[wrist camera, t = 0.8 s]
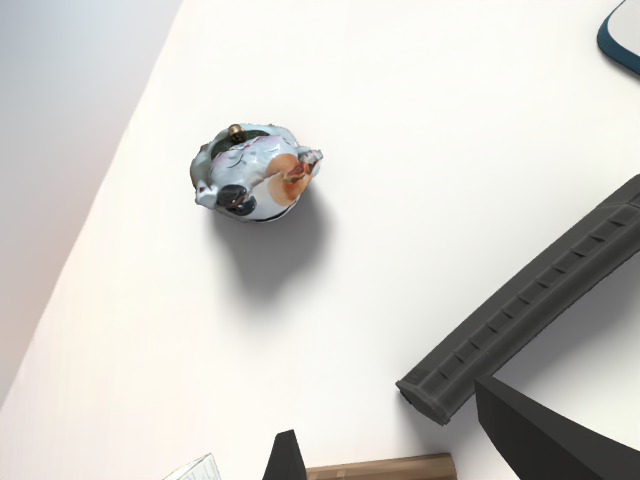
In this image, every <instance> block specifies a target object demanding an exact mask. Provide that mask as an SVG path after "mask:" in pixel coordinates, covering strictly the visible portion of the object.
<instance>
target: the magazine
mask: <svg viewBox="0 0 640 480" xmlns="http://www.w3.org/2000/svg"><path fill="white" fill-rule="evenodd" d="M638 251H640V174H638V175H636V176H635V177H633V178H632V179H630V180H629V181H628V182H626V183H625V184H624V185H623V186H621V187H620V188H619V189H618V190H616V191H615V192H614V193H613V194H611V195H610V196H609V197H608V198H606V199H605V200H604V201H603V202H601V203H600V204H599V205H598V206H596V208H595V209H594V210H592V211H591V212H590V213H589V214H587V215H586V216H585V217H584V218H583V219H581V220H580V221H579V222H578V223H576V224H575V225H574V226H573V227H572V228H570V229H569V230H568V231H567V232H566V233H564V234H563V235H562V236H561V237H560V238H558V239H557V240H556V241H555V242H554V243H552V244H551V245H550V246H549V247H548V248H546V249H545V250H544V251H543V252H542V253H540V254H539V255H538V256H537V257H536V258H534V259H533V260H532V261H531V262H530V263H529V264H527V265H526V266H525V267H524V268H523V269H522V270H520V271H519V272H518V273H517V274H516V275H515V276H514V277H512V278H511V279H510V280H509V281H508V282H507V283H506V284H504V285H503V286H502V287H501V288H500V289H499V290H498V291H496V292H495V293H494V294H493V295H492V296H491V297H490V298H489V299H488V300H486V301H485V302H484V303H483V304H482V305H481V306H480V307H479V308H477V309H476V310H475V311H474V312H473V313H472V314H471V315H470V316H469V317H468V318H467V319H465V320H464V321H463V322H462V323H461V324H460V325H459V326H458V327H457V328H456V329H455V330H453V331H452V332H451V333H450V334H449V335H448V336H447V337H446V338H445V339H444V340H443V341H442V342H441V343H440V344H439V345H437V346H436V347H435V348H434V349H433V350H432V351H431V352H430V353H429V354H428V355H427V356H426V357H425V358H424V359H423V360H422V361H420V362H419V363H418V364H417V365H416V366H415V367H414V368H413V369H412V370H411V371H410V372H409V373H408V374H407V375H406V376H405V377H403V378H402V379H401V380H400V381H397V382H396V383H395V385H396V386H397V387H398V388H399V389H400V393H401V394H402V395H403V396H404V397H405V399H406V400H407V401H408V402H409V403H410V404H411V405H413V406H414V407H415V408H416V409H417V410H418V411H419V412H420V413H422V414H423V415H425V416H427V417H428V418H430V419H431V420H433V421H435V422H436V423H438V424H439V425H441V426H443V425H444V424H445V425H446V424H447V423H448V422H449V421H450V418H451V417H452V416H453V415H454V414H455V413H456V412H457V411H458V409H459V408H460V407H461V406H462V405H463V404H464V403H465V402H466V401H467V400H468V399H469V398H470V397H471V396H472V395H473V394H474V393H475V386H474V378H477V377H481V376H484V375H488V374H489V375H490V376H492V375H493V374H494V373H495V372H497V371H498V370H499V369H500V368H501V367H502V366H503V365H504V364H505V363H506V362H508V361H509V360H510V359H511V358H512V357H513V356H514V355H515V354H517V353H518V352H519V351H520V350H521V349H522V348H523V347H524V346H526V345H527V344H528V343H529V342H530V341H531V340H532V339H533V338H535V337H536V336H537V335H538V334H539V333H540V332H541V331H542V330H543V329H544V328H546V327H547V326H548V325H549V324H550V323H552V322H553V321H554V320H555V319H556V318H557V317H558V316H559V315H560V314H562V313H563V312H564V311H565V310H566V309H567V308H569V307H570V306H571V305H573V304H574V303H575V302H576V301H577V300H578V299H579V298H581V297H582V296H583V295H584V294H586V293H587V292H588V291H590V290H591V289H592V288H593V287H594V286H595V285H597V284H598V283H599V282H600V281H601V280H603V279H604V278H605V277H607V276H608V275H609V274H611V273H612V272H613V271H614V270H615V269H616V268H618V267H619V266H620V265H621V264H623V263H624V262H625V261H627V260H629V259H630V258H631V257H632V256H633V255H634V254H636V253H637V252H638Z"/></svg>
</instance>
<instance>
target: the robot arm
mask: <svg viewBox="0 0 640 480" xmlns="http://www.w3.org/2000/svg"><path fill="white" fill-rule="evenodd" d="M474 386H475V394H476V402H477V410H478V418H479V422H480V424H481V425H482V427H483V429H484V430H485V432H486V433H487V435H488V437H489V438H490V440H491V441H492V443H493V444H494V446H495V447H496V449H497V450H498V452H499V453H500V454H501V456H502V457H503V458H504V459H505V461H506V462H507V463H508V465H509V466H510V467H511V468H512V470H513V471H514V472H515V473H516V475H517V476H518V477H519V479H520V480H640V451H638V450H635V449H633V448H630V447H628V446H626V445H623V444H621V443H619V442H617V441H614V440H612V439H610V438H607V437H605V436H603V435H601V434H598V433H596V432H594V431H592V430H590V429H588V428H586V427H584V426H582V425H580V424H578V423H576V422H574V421H572V420H570V419H568V418H566V417H564V416H562V415H560V414H558V413H556V412H554V411H552V410H550V409H549V408H547V407H545V406H543V405H541V404H539V403H538V402H536V401H534V400H532V399H530V398H529V397H527V396H525V395H523V394H522V393H520V392H518V391H516V390H515V389H513V388H511V387H509V386H508V385H506V384H504V383H503V382H501V381H499V380H497V379H496V378H494V377H492V376H490V375H489V374H488V375H484V376H481V377H477V378H474ZM262 480H307V474H306V469H305V466H304V462H303V459H302V456H301V453H300V449H299V446H298V443H297V439H296V436H295V433H294V430H293V429H292V430H289V431H285V432H282V433H278V434H277V435H276V437H275V441H274V444H273V448H272V451H271V455H270V458H269V461H268V464H267V467H266V470H265V473H264V476H263V479H262Z"/></svg>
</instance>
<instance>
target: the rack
mask: <svg viewBox="0 0 640 480" xmlns="http://www.w3.org/2000/svg"><path fill="white" fill-rule="evenodd" d="M306 474H307V480H458V479H457V476H456V475H457V473H456V469H455V466H454V463H453V460H452V457H451V454H450V453H442V454H433V455H424V456H415V457H406V458H397V459H388V460H378V461H369V462H360V463H351V464H342V465H333V466H324V467H315V468H306Z"/></svg>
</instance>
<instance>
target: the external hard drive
mask: <svg viewBox="0 0 640 480" xmlns="http://www.w3.org/2000/svg"><path fill="white" fill-rule="evenodd" d="M597 39H598V43H599V46H600V47H601V49H602V50H603V51H604V52H605V53H606V54H607V55H608V56H609V57H611V58H612V59H614V60H616V61H617V62H619V63H620V64H622V65H624V66H626V67H627V68H629V69H631V70H633V71H634V72H636V73H638V74H639V75H640V0H624V1H623V2H622V3H621V4H620V5H619V6H618V7H616V8H615V9H614V10H613V11H612V12H611V14H610V15H609V16H608V17H607V18H606V19H605V20H604V22H603V24H602V25H601V27H600V29H599V31H598V35H597Z"/></svg>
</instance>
